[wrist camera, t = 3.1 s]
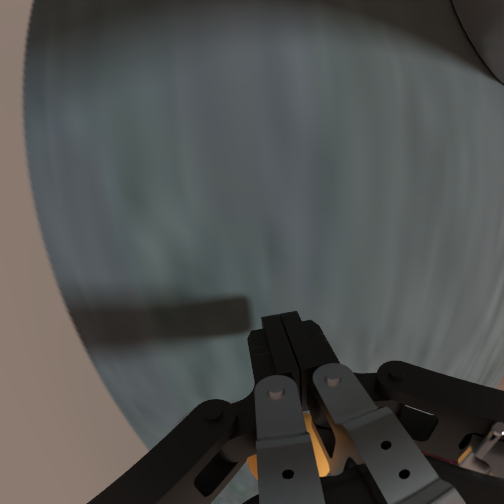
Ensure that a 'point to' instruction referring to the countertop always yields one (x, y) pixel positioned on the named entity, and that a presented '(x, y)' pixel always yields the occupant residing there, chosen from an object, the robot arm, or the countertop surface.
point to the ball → (319, 455)
